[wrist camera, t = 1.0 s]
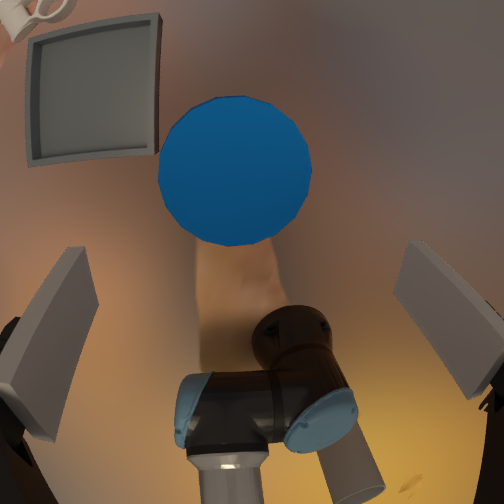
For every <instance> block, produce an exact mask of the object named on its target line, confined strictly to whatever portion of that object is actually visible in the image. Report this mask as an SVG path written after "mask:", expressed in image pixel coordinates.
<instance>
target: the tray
mask: <svg viewBox="0 0 504 504" xmlns="http://www.w3.org/2000/svg"><path fill="white" fill-rule="evenodd" d="M162 24H163V20H162V18H161V16H160V14H159V13H148V14H138V15H131V16H123V17H117V18H111V19H105V20H100V21H95V22H89V23H84V24H80V25H76V26H71V27H67V28H63V29H59V30H55V31H52V32H48V33H45V34H41V35H38V36H35V37H32V38H29V40H28V50H27V61H26V78H25V136H26V152H27V165H28V168H30V167H37V166H44V165H51V164H58V163H66V162H74V161H84V160H94V159H104V158H116V157H129V156H143V155H144V156H145V155H155V154H156V153H158V152H159V80H160V78H159V77H160V54H161V37H162Z"/></svg>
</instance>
